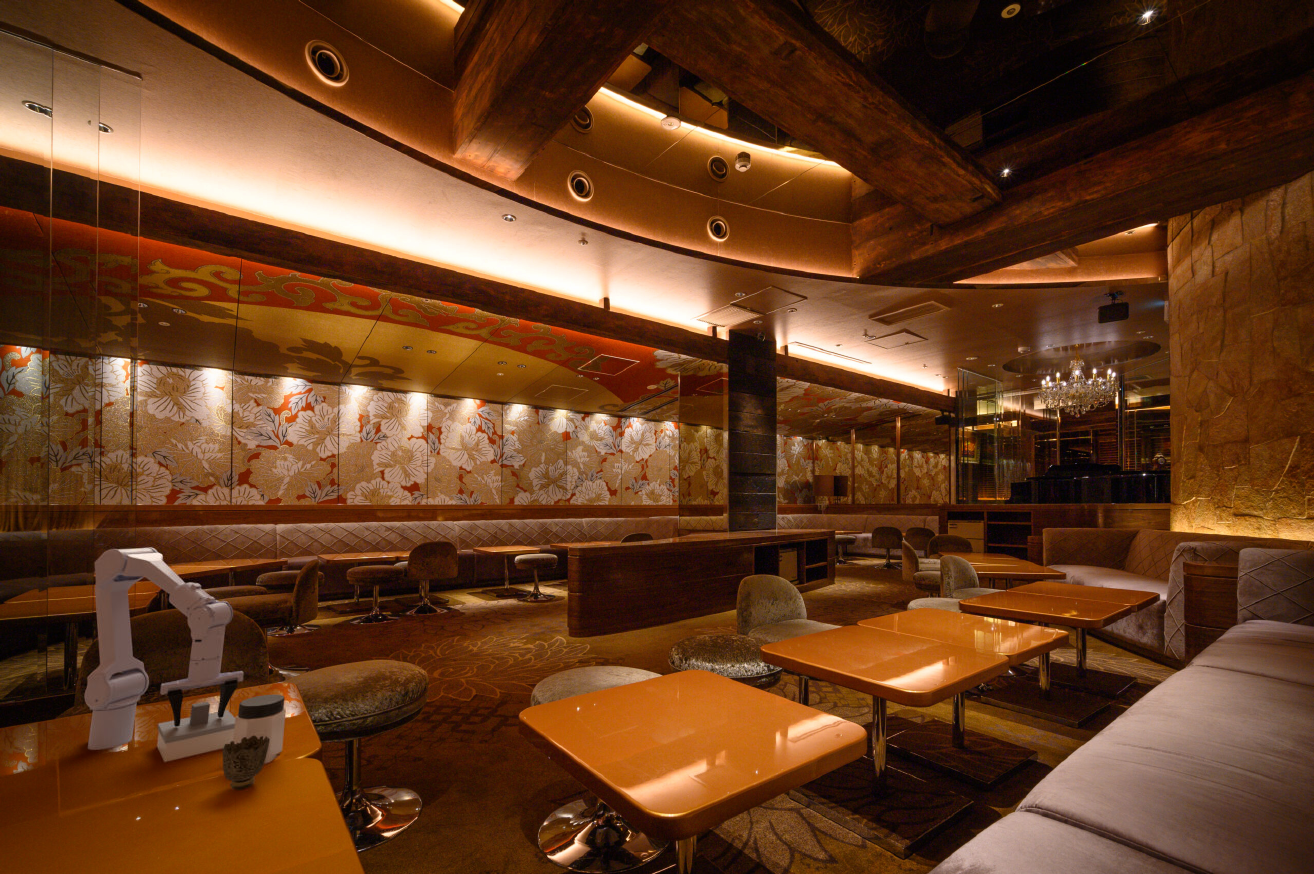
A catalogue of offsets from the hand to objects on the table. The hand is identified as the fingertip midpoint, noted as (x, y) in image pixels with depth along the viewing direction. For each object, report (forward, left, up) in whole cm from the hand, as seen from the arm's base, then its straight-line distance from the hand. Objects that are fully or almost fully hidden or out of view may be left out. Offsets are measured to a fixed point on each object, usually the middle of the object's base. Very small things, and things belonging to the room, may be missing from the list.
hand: (199, 720), depth 126 cm
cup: (+29, +3, -6) cm, 30 cm away
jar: (+16, +8, -6) cm, 19 cm away
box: (0, 0, -6) cm, 6 cm away
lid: (0, 0, -2) cm, 2 cm away
